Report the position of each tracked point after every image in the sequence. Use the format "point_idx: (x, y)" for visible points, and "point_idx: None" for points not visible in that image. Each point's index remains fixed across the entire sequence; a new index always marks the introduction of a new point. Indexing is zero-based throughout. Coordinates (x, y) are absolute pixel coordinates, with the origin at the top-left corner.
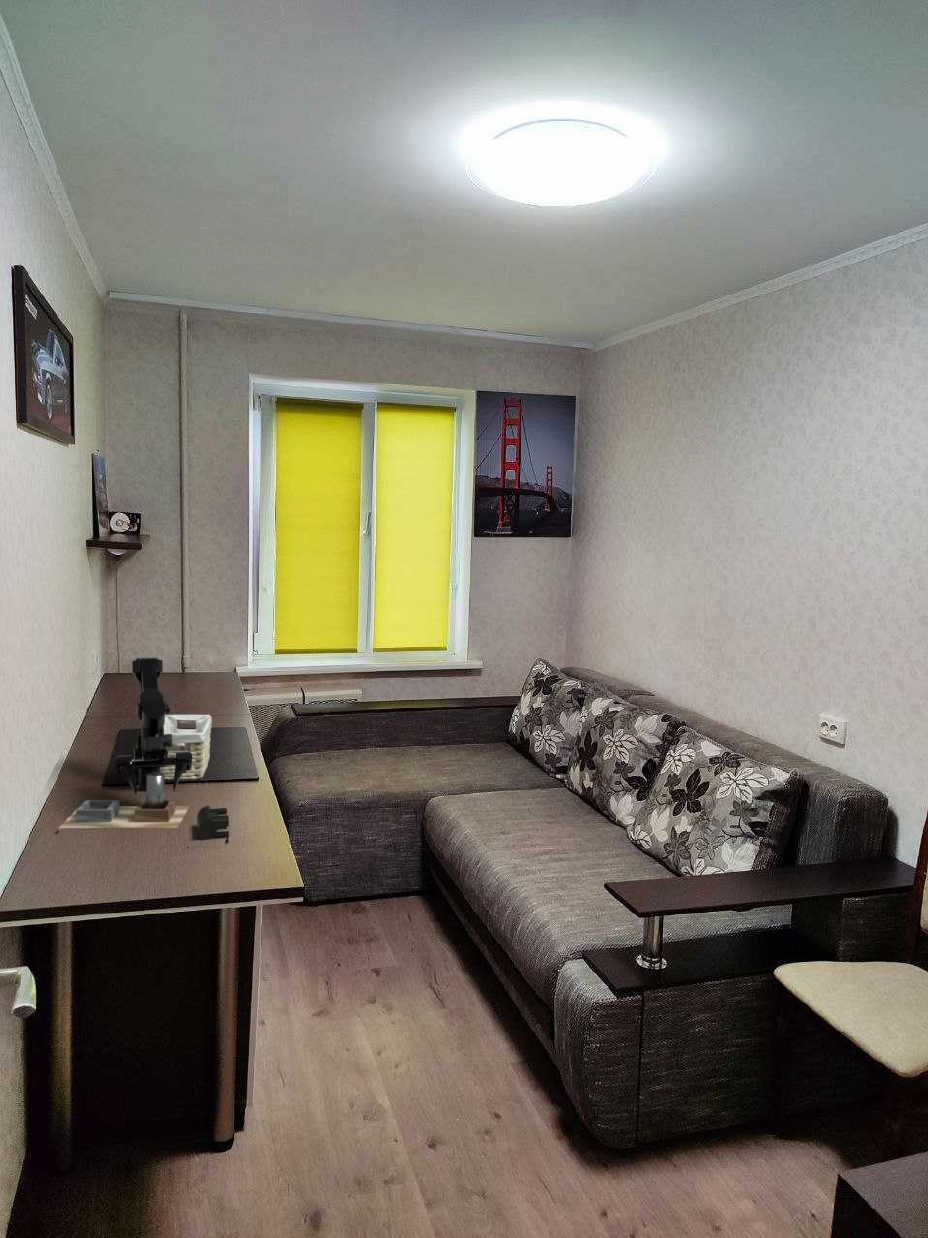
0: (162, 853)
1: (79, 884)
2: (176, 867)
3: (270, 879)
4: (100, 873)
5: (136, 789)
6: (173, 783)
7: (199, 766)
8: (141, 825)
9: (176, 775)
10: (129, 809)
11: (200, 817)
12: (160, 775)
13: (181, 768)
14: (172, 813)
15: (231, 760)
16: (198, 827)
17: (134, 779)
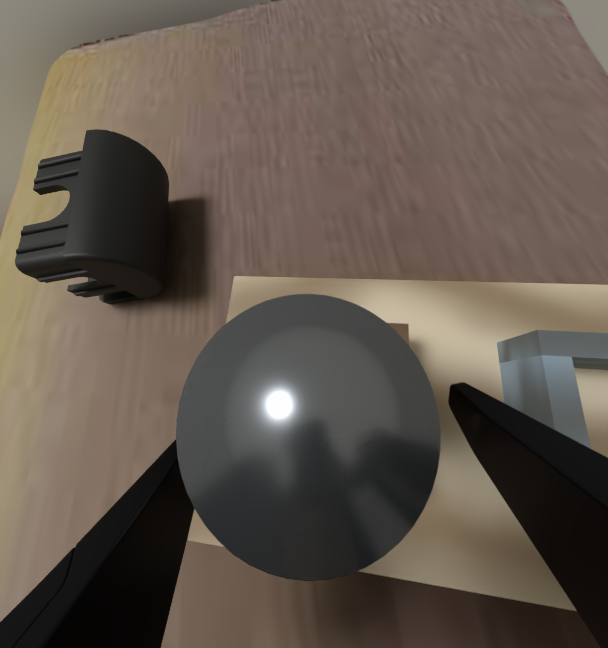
0: (271, 158)
1: (417, 24)
2: (235, 98)
3: (79, 70)
4: (390, 64)
5: (468, 398)
6: (164, 473)
7: None
8: (359, 300)
9: (71, 571)
10: (473, 530)
11: (127, 189)
12: (224, 369)
13: None
14: None
15: None
16: (152, 162)
17: (583, 480)
